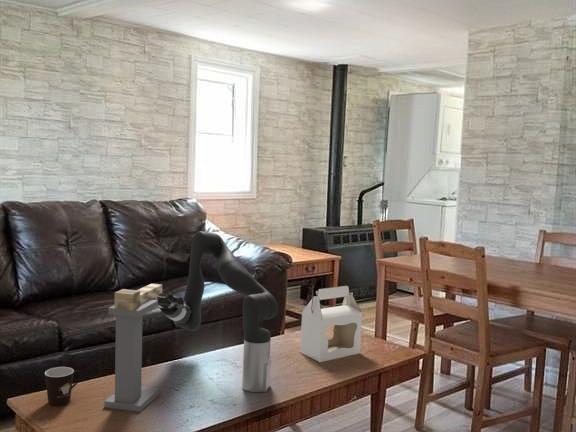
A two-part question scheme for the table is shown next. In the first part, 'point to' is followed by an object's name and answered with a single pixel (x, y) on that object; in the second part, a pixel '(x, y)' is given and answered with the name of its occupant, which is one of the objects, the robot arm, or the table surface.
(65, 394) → the coffee mug
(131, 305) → the beech bar
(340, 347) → the gable box
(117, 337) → the grey stand
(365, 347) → the table surface
